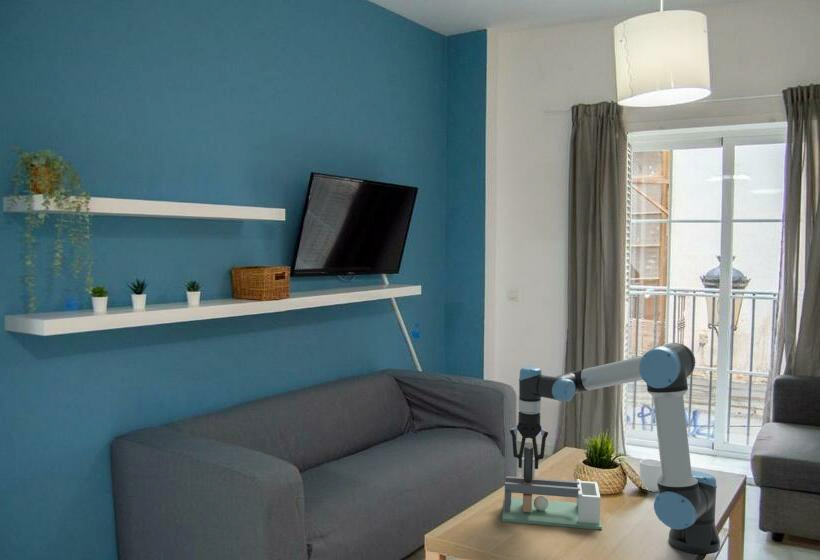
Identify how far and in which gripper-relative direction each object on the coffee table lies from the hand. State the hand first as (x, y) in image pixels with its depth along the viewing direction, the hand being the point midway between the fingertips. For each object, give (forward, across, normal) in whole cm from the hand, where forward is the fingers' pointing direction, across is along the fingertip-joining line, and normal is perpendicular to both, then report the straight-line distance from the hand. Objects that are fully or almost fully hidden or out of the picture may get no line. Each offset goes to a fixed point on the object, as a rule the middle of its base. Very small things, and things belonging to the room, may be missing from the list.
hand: (528, 477), depth 249 cm
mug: (+13, -48, -35) cm, 60 cm away
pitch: (+13, -8, 0) cm, 15 cm away
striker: (+11, 0, 0) cm, 11 cm away
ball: (+9, -5, 0) cm, 10 cm away
